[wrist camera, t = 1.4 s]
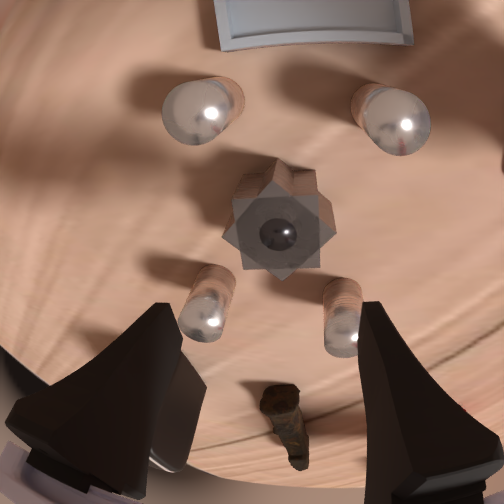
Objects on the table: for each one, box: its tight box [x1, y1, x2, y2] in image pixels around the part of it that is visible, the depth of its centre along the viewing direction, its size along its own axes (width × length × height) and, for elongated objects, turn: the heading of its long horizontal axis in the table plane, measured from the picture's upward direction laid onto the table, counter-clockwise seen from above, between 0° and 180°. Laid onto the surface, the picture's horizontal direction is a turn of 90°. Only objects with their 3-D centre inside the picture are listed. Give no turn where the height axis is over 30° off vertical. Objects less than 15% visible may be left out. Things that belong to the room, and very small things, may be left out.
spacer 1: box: [162, 77, 245, 145], centre depth 15 cm, size 3×3×5 cm
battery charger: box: [149, 352, 207, 472], centre depth 27 cm, size 7×4×11 cm, turn 18°
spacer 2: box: [178, 265, 236, 343], centre depth 22 cm, size 3×3×5 cm
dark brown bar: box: [259, 385, 309, 471], centre depth 34 cm, size 19×4×5 cm, turn 13°
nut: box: [222, 158, 337, 281], centre depth 19 cm, size 6×6×4 cm
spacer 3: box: [323, 278, 364, 358], centre depth 21 cm, size 3×3×5 cm
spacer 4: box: [351, 83, 431, 156], centre depth 14 cm, size 3×3×5 cm
